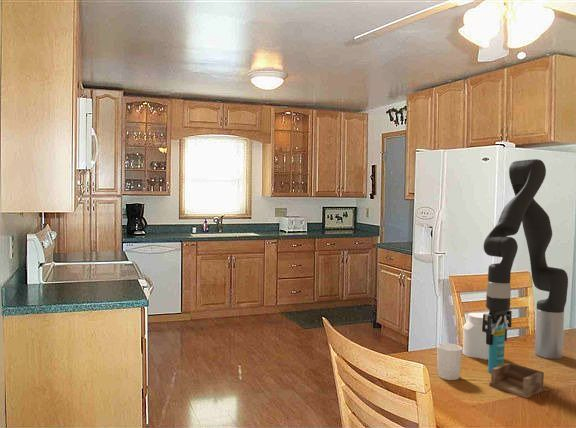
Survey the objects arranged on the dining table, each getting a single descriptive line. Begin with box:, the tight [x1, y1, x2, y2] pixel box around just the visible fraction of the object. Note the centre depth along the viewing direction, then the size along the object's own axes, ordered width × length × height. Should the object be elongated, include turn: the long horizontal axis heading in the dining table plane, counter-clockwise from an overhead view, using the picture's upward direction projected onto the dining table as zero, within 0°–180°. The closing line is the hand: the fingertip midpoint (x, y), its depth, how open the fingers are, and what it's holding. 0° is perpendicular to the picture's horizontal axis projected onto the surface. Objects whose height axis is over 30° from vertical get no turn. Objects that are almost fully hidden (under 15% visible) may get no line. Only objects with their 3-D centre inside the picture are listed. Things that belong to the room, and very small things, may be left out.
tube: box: [487, 321, 506, 374], centre depth 174 cm, size 7×5×19 cm, turn 123°
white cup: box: [436, 342, 463, 381], centre depth 169 cm, size 8×8×10 cm
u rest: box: [489, 362, 546, 399], centre depth 160 cm, size 11×12×6 cm
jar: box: [462, 312, 489, 360], centre depth 192 cm, size 12×10×15 cm
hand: (496, 342), depth 173 cm, fingers open, 8 cm apart
